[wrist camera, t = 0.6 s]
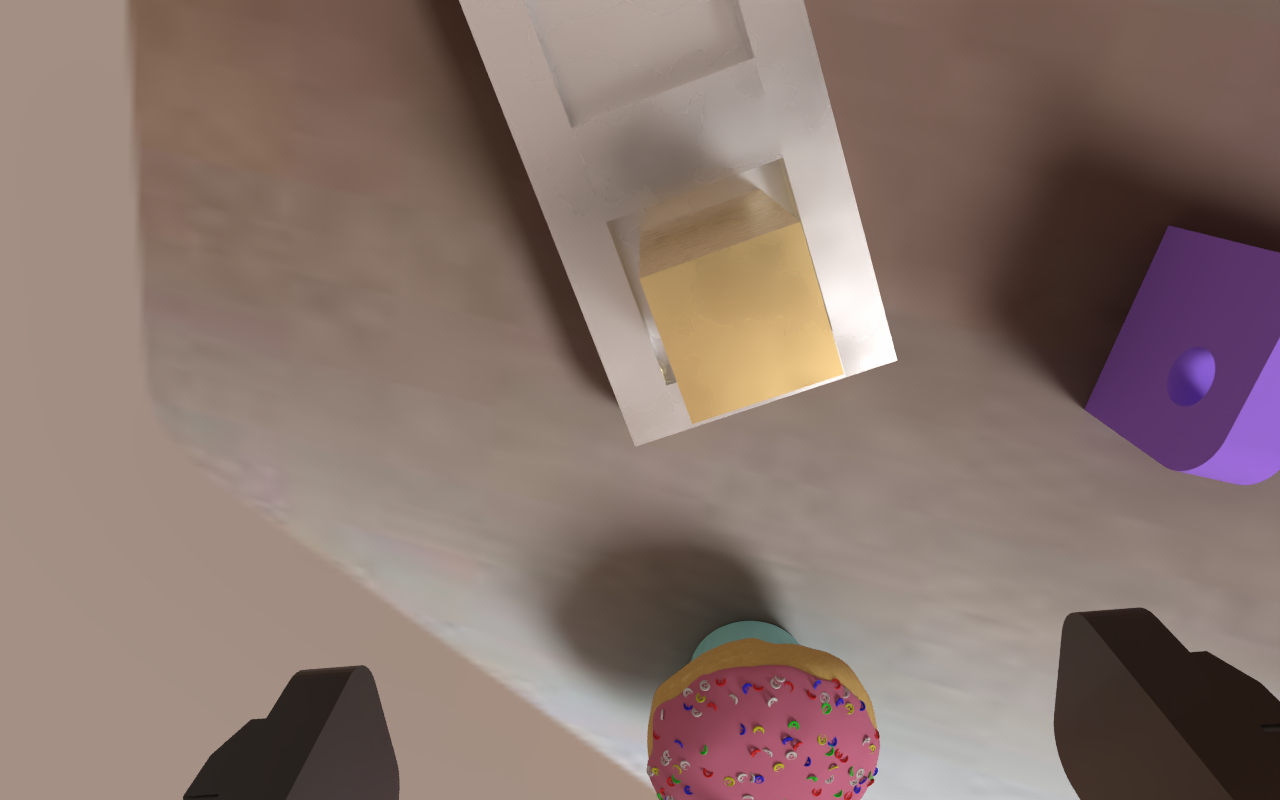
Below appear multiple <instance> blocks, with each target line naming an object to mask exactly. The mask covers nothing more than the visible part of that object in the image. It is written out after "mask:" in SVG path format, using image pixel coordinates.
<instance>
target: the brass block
mask: <svg viewBox="0 0 1280 800" xmlns="http://www.w3.org/2000/svg"><path fill="white" fill-rule="evenodd" d="M639 279H640V282H641V285H642V288H643V290H644V293H645V296H646V299H647V301H648V304H649V307H650V310H651V312H652V315H653V318H654V321H655V323H656V326H657V329H658V332H659V334H660V337H661V340H662V343H663V345H664V348H665V351H666V354H667V356H668V359H669V362H670V364H671V367H672V370H673V373H674V375H675V378H676V381H677V384H678V386H679V389H680V392H681V395H682V397H683V400H684V403H685V406H686V408H687V411H688V414H689V417H690V419H691V422H692V424H695V423H698V422H701V421H704V420H707V419H710V418H713V417H716V416H719V415H722V414H725V413H728V412H731V411H734V410H737V409H740V408H743V407H746V406H749V405H752V404H755V403H758V402H761V401H764V400H767V399H770V398H773V397H776V396H779V395H782V394H786V393H789V392H792V391H795V390H798V389H801V388H804V387H807V386H810V385H813V384H816V383H819V382H822V381H825V380H828V379H831V378H834V377H837V376H840V375H843V374H844V372H843V368H842V365H841V361H840V358H839V354H838V351H837V347H836V344H835V340H834V337H833V334H832V330H831V327H830V323H829V320H828V316H827V313H826V309H825V306H824V302H823V299H822V295H821V292H820V288H819V285H818V281H817V278H816V274H815V271H814V267H813V264H812V260H811V257H810V253H809V250H808V246H807V243H806V239H805V236H804V232H803V229H802V225H801V222H800V221H799V220H798V219H797V218H795V217H794V216H793V215H792V214H790V213H789V212H788V211H787V210H785V209H784V208H783V207H782V206H780V205H779V204H778V203H777V202H775V201H774V200H773V199H772V198H771V197H769V196H768V195H767V194H766V193H764V192H763V191H762V190H761V189H757V190H755V191H752V192H749V193H746V194H744V195H741V196H738V197H735V198H733V199H730V200H727V201H724V202H722V203H719V204H716V205H713V206H711V207H708V208H705V209H702V210H700V211H697V212H694V213H691V214H689V215H686V216H683V217H680V218H678V219H675V220H672V221H669V222H667V223H664V224H661V225H658V226H656V227H653V228H650V229H647V230H644V231H642V232H640V260H639Z"/></svg>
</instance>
